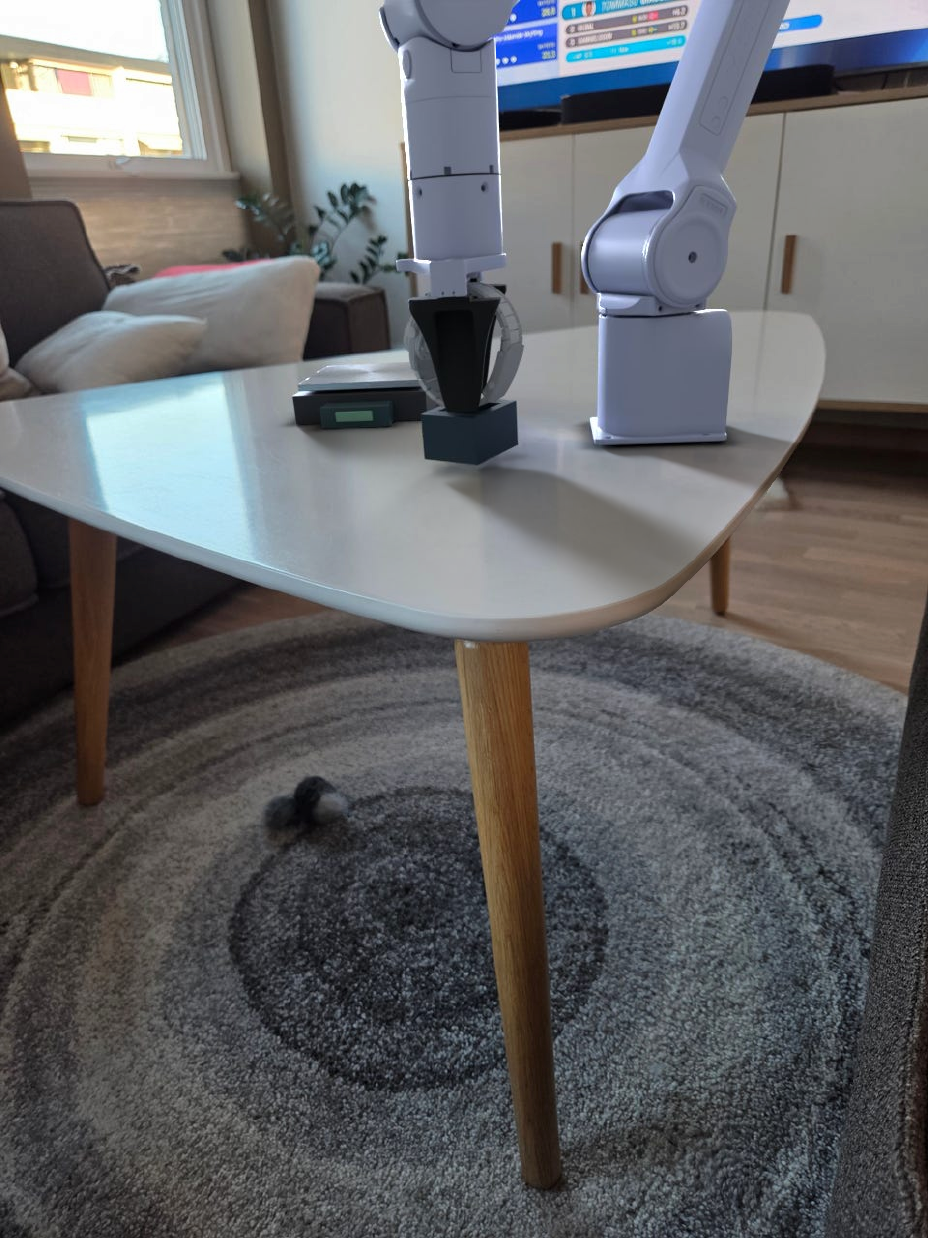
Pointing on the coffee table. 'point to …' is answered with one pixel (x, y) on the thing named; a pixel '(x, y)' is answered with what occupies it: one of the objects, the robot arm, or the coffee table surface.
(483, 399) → the watch
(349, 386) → the scale pan
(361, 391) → the scale
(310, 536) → the coffee table surface
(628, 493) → the coffee table surface
